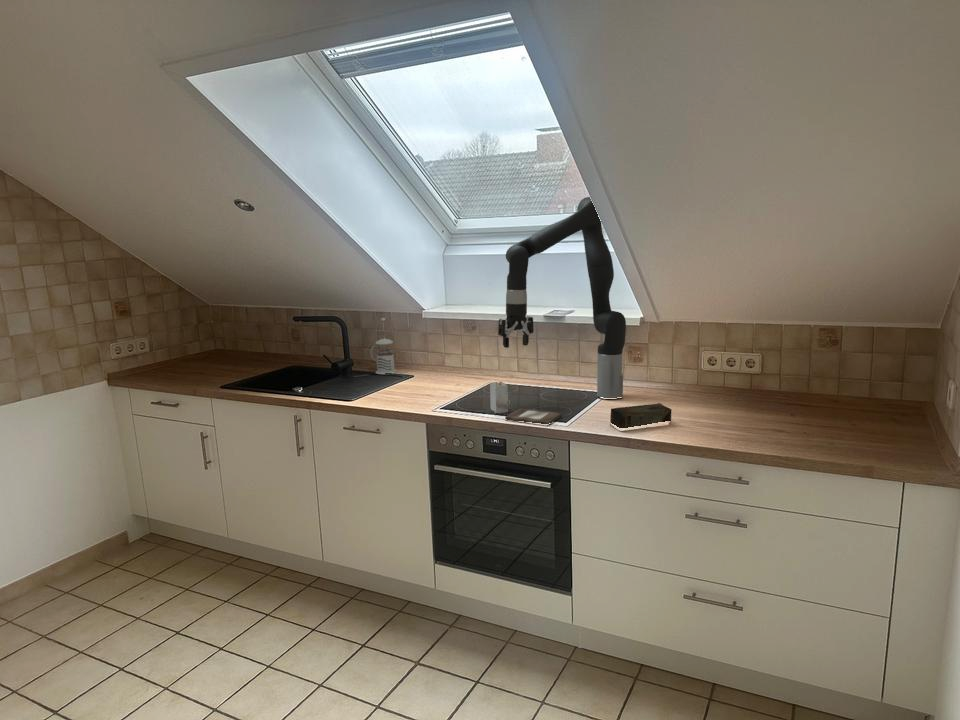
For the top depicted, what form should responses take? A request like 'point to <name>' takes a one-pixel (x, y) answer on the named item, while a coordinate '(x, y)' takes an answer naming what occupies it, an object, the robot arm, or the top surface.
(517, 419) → the mount plate
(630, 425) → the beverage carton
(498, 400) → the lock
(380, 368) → the french press
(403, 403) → the top surface
